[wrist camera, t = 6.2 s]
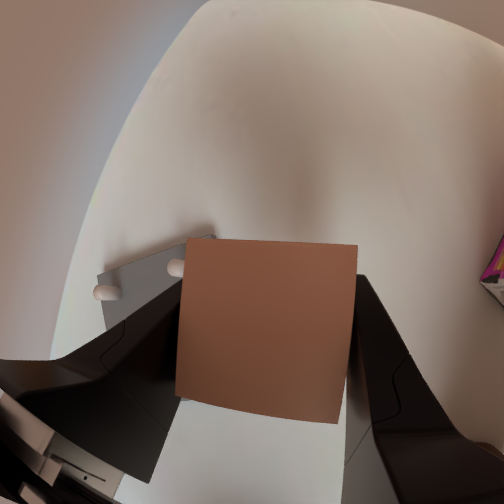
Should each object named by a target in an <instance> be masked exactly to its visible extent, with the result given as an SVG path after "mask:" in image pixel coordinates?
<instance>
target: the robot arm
mask: <svg viewBox="0 0 504 504" xmlns="http://www.w3.org/2000/svg"><path fill="white" fill-rule="evenodd" d="M182 282H183V278H182V279H181V280H179V281H178V282H176V283H175V284H173V285H172V286H171V287H169V288H168V289H166V290H165V291H163V292H162V293H160V294H159V295H158V296H156V297H155V298H153V299H152V300H150V301H149V302H148V303H146V304H145V305H143V306H142V307H140V308H139V309H138V310H136V311H135V312H133V313H132V314H131V315H129V316H128V317H126V319H123V320H122V321H121V322H119V323H118V324H116V325H115V326H113V327H112V328H110V329H109V330H108V331H106V332H105V333H103V334H101V335H100V336H98V337H97V338H95V339H93V340H92V341H90V342H88V343H87V344H85V345H83V346H82V347H80V348H78V349H77V350H75V351H73V352H72V353H70V354H68V355H66V356H65V357H62V358H60V359H56V360H48V361H31V360H29V361H27V360H2V359H0V388H1V389H2V390H3V391H4V393H3V395H2V397H1V398H0V496H2V497H4V498H6V499H9V500H11V501H13V502H16V503H18V504H121V503H119V502H118V501H116V500H114V499H113V498H114V495H115V493H116V491H117V489H118V486H119V484H120V482H121V480H122V478H123V475H124V473H126V474H128V475H130V476H132V477H134V478H136V479H138V480H140V481H143V482H145V483H147V484H149V482H150V479H151V477H152V474H153V472H154V469H155V466H156V464H157V461H158V458H159V456H160V453H161V451H162V448H163V445H164V443H165V440H166V438H167V435H168V432H169V429H170V427H171V424H172V422H173V419H174V416H175V414H176V411H177V409H178V406H179V403H180V401H181V398H182V397H179V396H176V395H175V385H176V363H177V345H178V330H179V317H180V304H181V293H182ZM341 504H504V460H503V459H501V458H499V457H498V456H496V455H494V454H492V453H491V452H489V451H487V450H486V449H484V448H482V447H480V446H479V445H477V444H475V443H474V442H472V441H470V440H469V439H467V438H466V437H464V436H463V435H462V434H461V433H460V432H459V431H458V430H457V429H456V428H455V426H454V425H453V424H452V422H451V421H450V419H449V417H448V416H447V414H446V413H445V411H444V410H443V408H442V406H441V405H440V403H439V402H438V400H437V399H436V397H435V396H434V394H433V393H432V391H431V390H430V388H429V386H428V385H427V383H426V382H425V380H424V378H423V377H422V375H421V373H420V371H419V370H418V368H417V366H416V364H415V362H414V360H413V358H412V356H411V355H410V354H409V351H408V349H407V347H406V345H405V344H404V342H403V340H402V338H401V336H400V334H399V332H398V331H397V329H396V327H395V325H394V324H393V322H392V320H391V318H390V316H389V315H388V313H387V311H386V309H385V308H384V306H383V304H382V303H381V301H380V299H379V297H378V296H377V294H376V292H375V291H374V289H373V287H372V286H371V284H370V282H369V281H368V279H367V277H366V276H365V275H361V274H356V288H355V301H354V312H353V323H352V332H351V341H350V350H349V357H348V365H347V372H346V440H345V460H344V474H343V487H342V498H341Z"/></svg>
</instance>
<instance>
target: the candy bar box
mask: <svg viewBox="0 0 504 504" xmlns="http://www.w3.org/2000/svg"><path fill="white" fill-rule="evenodd" d="M480 283H481V284H482V285H483V286H484V287H485V288H486V289H487V290H488V291H489V292H490V293H491V294H492V295H493V296H494V297H495V298H496V299H497V300H498V301H499V302H500V303H501V305H502V306H503V307H504V236H503V238H502V240H501V242H500V244H499V246H498V248H497V250H496V252H495V254H494V256H493V258H492V259H491V261H490V263H489V265H488V267H487V269H486V270H485V272H484V274H483V276H482V277H481V279H480Z"/></svg>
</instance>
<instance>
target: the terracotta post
mask: <svg viewBox="0 0 504 504" xmlns="http://www.w3.org/2000/svg"><path fill="white" fill-rule="evenodd" d="M357 252H358V245H344V244H323V243H302V242H280V241H257V240H232V239H206V238H187V244H186V253H185V262H184V272H183V282H182V293H181V304H180V317H179V330H178V345H177V363H176V385H175V395H176V396H179V397H183V398H186V399H190V400H194V401H198V402H202V403H206V404H210V405H215V406H219V407H224V408H228V409H233V410H238V411H243V412H248V413H254V414H259V415H265V416H271V417H278V418H285V419H292V420H300V421H309V422H319V423H330V424H338V420H339V415H340V409H341V403H342V398H343V392H344V385H345V379H346V372H347V365H348V357H349V350H350V341H351V332H352V323H353V312H354V301H355V288H356V272H357Z"/></svg>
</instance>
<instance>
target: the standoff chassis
mask: <svg viewBox="0 0 504 504" xmlns="http://www.w3.org/2000/svg"><path fill="white" fill-rule="evenodd" d="M201 238H206V239H216V236H214V235H212V234H210V235H207V236H204V237H201ZM186 244H187V243H184V244H181V245H178V246H176V247H173V248H170V249H167V250H164V251H162V252H159V253H156V254H153V255H151V256H148V257H145V258H142V259H140V260H137V261H134V262H132V263H129V264H126V265H124V266H121V267H118V268H116V269H113V270H110V271H108V272H105V273H102V274H100V275H97V278H98V285H97V286H95V288H94V290H93V295H94V297H95V299H96V300H101V303H102V309H103V314H104V320H105V325H106V330H107V331H108V330H109V329H110V328H112V327H113V326H115V325H116V324H118V323H119V322H121V321H122V320H123V319H126V317H128V316H129V315H131V314H132V313H133V312H135V311H136V310H138V309H139V308H140V307H142V306H143V305H145V304H146V303H148V302H149V301H150V300H152V299H153V298H155V297H156V296H158V295H159V294H160V293H162V292H163V291H165V290H166V289H168V288H169V287H171V286H172V285H173V284H175V283H176V282H178V281H179V280H181V279H182V278H183V272H184V262H185V253H186ZM186 400H190V399H186V398H183V397H182V398H181V401H186Z"/></svg>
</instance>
